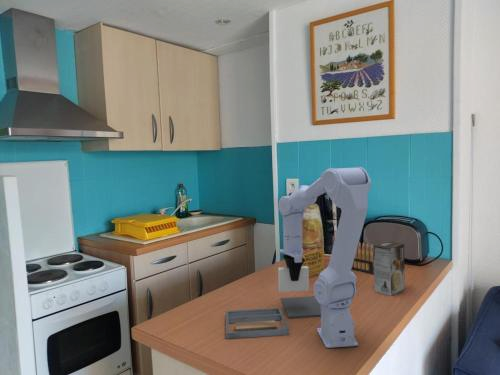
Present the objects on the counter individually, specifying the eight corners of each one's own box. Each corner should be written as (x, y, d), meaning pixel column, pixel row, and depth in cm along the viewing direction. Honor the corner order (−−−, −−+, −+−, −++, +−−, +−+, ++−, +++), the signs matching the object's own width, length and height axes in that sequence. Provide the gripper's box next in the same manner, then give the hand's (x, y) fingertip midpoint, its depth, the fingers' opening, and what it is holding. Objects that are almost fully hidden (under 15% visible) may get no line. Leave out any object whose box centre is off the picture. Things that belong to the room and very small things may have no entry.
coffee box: (387, 284, 127) (387, 240, 126) (405, 289, 122) (405, 243, 121) (373, 291, 121) (373, 245, 120) (391, 296, 116) (391, 248, 115)
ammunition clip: (348, 269, 146) (348, 240, 145) (351, 268, 148) (351, 239, 147) (373, 274, 139) (373, 244, 138) (375, 273, 140) (375, 243, 139)
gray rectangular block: (309, 290, 108) (308, 268, 107) (279, 292, 107) (279, 269, 106) (307, 288, 110) (307, 266, 109) (278, 289, 109) (278, 267, 108)
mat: (335, 315, 104) (335, 313, 104) (288, 318, 103) (288, 316, 103) (322, 297, 118) (322, 295, 118) (281, 299, 117) (281, 298, 117)
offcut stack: (279, 335, 94) (279, 326, 94) (234, 338, 93) (234, 329, 93) (277, 328, 98) (277, 320, 98) (234, 331, 97) (234, 322, 97)
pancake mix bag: (284, 277, 139) (282, 206, 137) (319, 267, 150) (318, 202, 148) (296, 281, 133) (294, 208, 131) (331, 271, 144) (330, 203, 142)
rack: (288, 334, 93) (288, 329, 93) (226, 339, 92) (225, 333, 92) (280, 312, 107) (280, 307, 107) (225, 315, 106) (225, 311, 106)
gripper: (275, 231, 114) (277, 272, 115) (284, 241, 99) (285, 288, 100) (297, 230, 114) (298, 271, 115) (308, 240, 100) (309, 286, 101)
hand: (293, 279), depth 108 cm, fingers closed on gray rectangular block, 2 cm apart
